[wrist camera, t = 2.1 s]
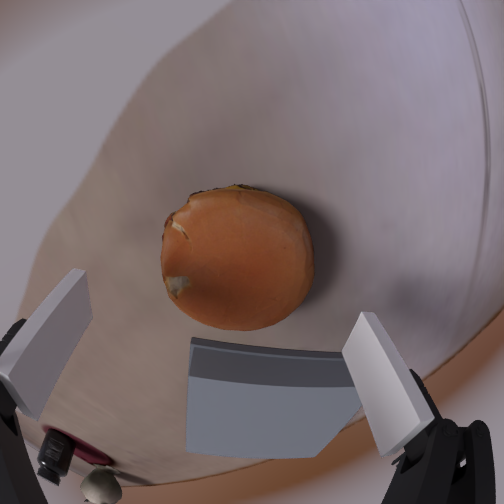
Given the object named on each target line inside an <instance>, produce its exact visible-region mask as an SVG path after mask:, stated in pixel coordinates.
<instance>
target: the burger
mask: <svg viewBox="0 0 504 504" xmlns="http://www.w3.org/2000/svg"><path fill="white" fill-rule="evenodd" d="M164 228H165V230H164V233H163V236H162V241H163V246H162V252H161V267H162V275H163V281H164V283H165V285H166V288H167V292H168V296H169V298H170V299H171V300H172V301H173V302H174V304H175V305H176V306H177V307H178V308H179V309H180V310H181V311H183V312H184V313H185V314H187V315H188V316H190V317H191V318H192V319H195V320H197V321H199V322H201V323H203V324H205V325H208V326H212V327H215V328H219V329H223V330H239V331H251V330H257V329H261V328H265V327H268V326H271V325H274V324H276V323H278V322H280V321H281V320H283V319H285V318H286V317H287V316H289V315H290V314H291V313H292V312H293V311H294V310H295V309H296V308H298V307H299V306H300V304H301V303H302V302H303V301H304V299H305V297H306V295H307V294H308V292H309V290H310V288H311V286H312V283H313V279H314V275H315V274H314V249H313V244H312V239H311V236H310V233H309V230H308V228H307V225H306V222H305V220H304V218H303V216H302V215H301V213H300V212H299V211H298V210H297V209H296V208H295V207H294V206H292V205H291V204H290V203H289V202H287V201H285V200H284V199H282V198H280V197H278V196H275V195H272V194H270V193H269V192H267V191H263V192H262V191H259V190H257V189H255V188H252V187H250V186H248V185H243V184H241V185H235V184H234V185H232V186H229V187H226V188H216V189H213V190H208V191H199V192H195V193H193V194H191V195H190V197H189V198H188V202H187V204H185V205H184V206H183V207H182V208H181V209H179V210H178V211H177V212H176V211H175V212H173V213H171V214H170V216H169V217H168V218H167V220H166V222H165V225H164Z"/></svg>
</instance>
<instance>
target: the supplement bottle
mask: <svg viewBox="0 0 504 504" xmlns="http://www.w3.org/2000/svg"><path fill="white" fill-rule="evenodd" d="M75 447H76V444H75V442H74V441H73V440H72V439H70V438H69V437H67V436H66V435H64V434H62V433H61V432H59V431H56V430H54V429H48V431H47V433H46V435H45V438H44V441H43V443H42V446H41V449H40V451H39V454H38V457H37V461H38V463H39V465H40V466H41V467H40V468H39V469H38V473H37V475H38V476H40V477H42V478H43V479H45V480H46V481H48V482H50V483H52V484H54V485H56V486H59V483H60V481H61V480H60V477H65V476H66V475H67V473H68V470H69V467H70V463H71V460H72V457H73V454H74V451H75Z"/></svg>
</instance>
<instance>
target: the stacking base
mask: <svg viewBox="0 0 504 504" xmlns="http://www.w3.org/2000/svg"><path fill="white" fill-rule="evenodd" d="M361 406H362V403H361V400H360V398H359V395H358V393H357V390H356V387H355V385H354V382H353V380H352V377H351V374H350V372H349V369H348V367H347V364H346V362H345V359H344V357H343V354H342V353H337V352H316V351H301V350H288V349H276V348H266V347H257V346H248V345H240V344H232V343H225V342H218V341H211V340H205V339H199V338H193V337H192V339H191V344H190V358H189V373H188V392H187V416H186V452H192V453H199V454H207V455H215V456H226V457H239V458H266V459H281V458H307V457H315V456H316V455H317V454H318V453H319V452H320V451H321V450H322V449H323V448H324V447H325V446H326V445H327V444H328V443H329V442H330V441H331V440H332V439H333V438H334V437H335V436H336V435H337V434H338V432H339V431H340V430H341V429H342V428H343V427H344V426H345V425H346V424H347V422H348V421H349V420H350V419H351V418H352V417H353V415H354V414H355V413H356V412H357V411H358V409H359V408H360V407H361Z"/></svg>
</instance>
